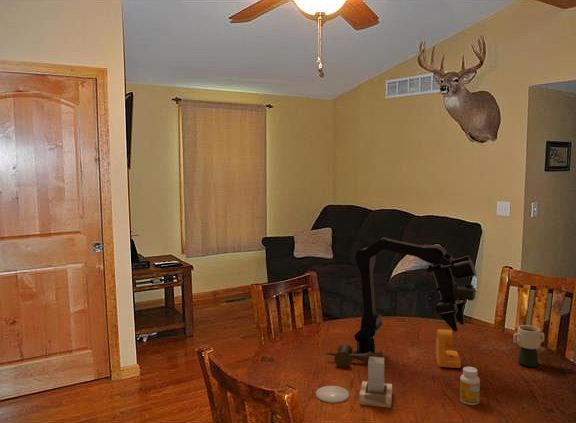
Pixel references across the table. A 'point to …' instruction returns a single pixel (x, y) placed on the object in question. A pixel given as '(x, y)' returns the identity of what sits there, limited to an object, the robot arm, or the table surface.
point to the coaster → (332, 394)
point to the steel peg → (376, 375)
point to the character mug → (528, 344)
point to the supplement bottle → (469, 386)
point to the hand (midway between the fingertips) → (459, 327)
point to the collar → (376, 396)
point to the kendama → (351, 356)
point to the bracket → (446, 356)
